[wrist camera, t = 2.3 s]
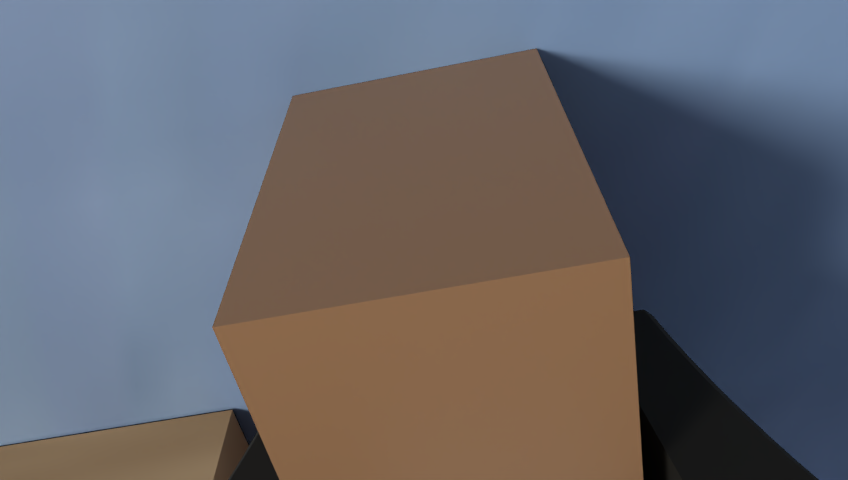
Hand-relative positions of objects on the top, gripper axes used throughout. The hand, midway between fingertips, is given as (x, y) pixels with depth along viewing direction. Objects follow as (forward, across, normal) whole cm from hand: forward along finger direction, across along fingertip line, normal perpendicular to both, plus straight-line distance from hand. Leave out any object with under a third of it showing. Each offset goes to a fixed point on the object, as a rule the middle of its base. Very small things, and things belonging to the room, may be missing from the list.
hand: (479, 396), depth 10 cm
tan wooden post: (+2, 0, 0) cm, 2 cm away
